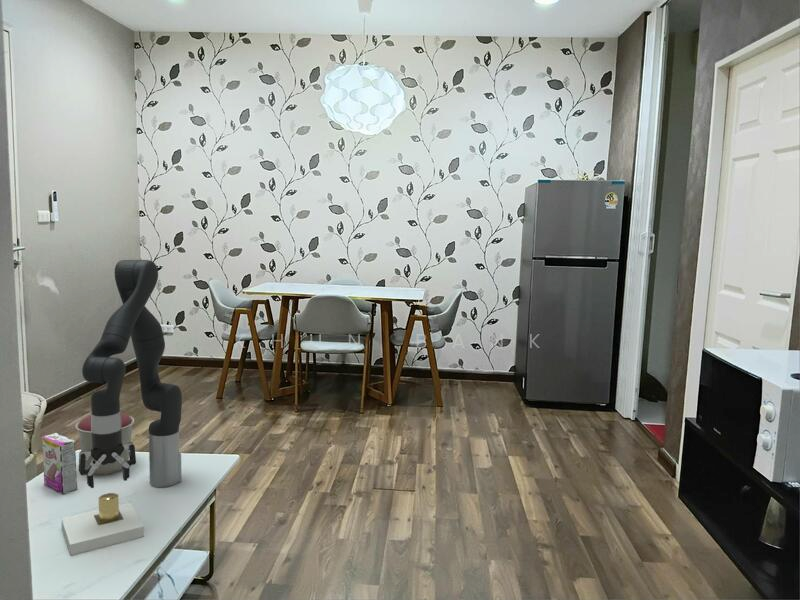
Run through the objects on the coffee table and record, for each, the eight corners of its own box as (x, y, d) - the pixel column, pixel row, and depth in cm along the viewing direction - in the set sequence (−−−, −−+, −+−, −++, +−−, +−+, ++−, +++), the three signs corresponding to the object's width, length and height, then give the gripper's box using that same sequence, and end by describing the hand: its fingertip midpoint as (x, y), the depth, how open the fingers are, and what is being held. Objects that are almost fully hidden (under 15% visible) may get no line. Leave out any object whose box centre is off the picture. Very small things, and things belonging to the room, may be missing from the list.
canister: (127, 479, 203) (126, 418, 200) (68, 480, 200) (66, 418, 197) (141, 457, 221) (139, 400, 218) (87, 458, 218) (85, 401, 215)
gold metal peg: (117, 521, 177) (116, 491, 175) (120, 528, 173) (120, 498, 171) (97, 525, 174) (97, 495, 172) (101, 533, 170) (100, 502, 168)
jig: (130, 512, 182) (130, 502, 181) (143, 536, 169) (143, 526, 169) (61, 528, 171) (61, 518, 171) (70, 555, 159) (70, 544, 158)
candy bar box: (42, 485, 196) (40, 436, 194) (58, 480, 201) (56, 432, 198) (62, 495, 191) (60, 444, 188) (78, 489, 195) (76, 440, 192)
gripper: (130, 419, 176) (132, 472, 178) (75, 428, 168) (77, 484, 170) (137, 427, 170) (138, 482, 172) (79, 437, 162) (82, 495, 164)
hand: (108, 483), depth 171 cm, fingers open, 8 cm apart
